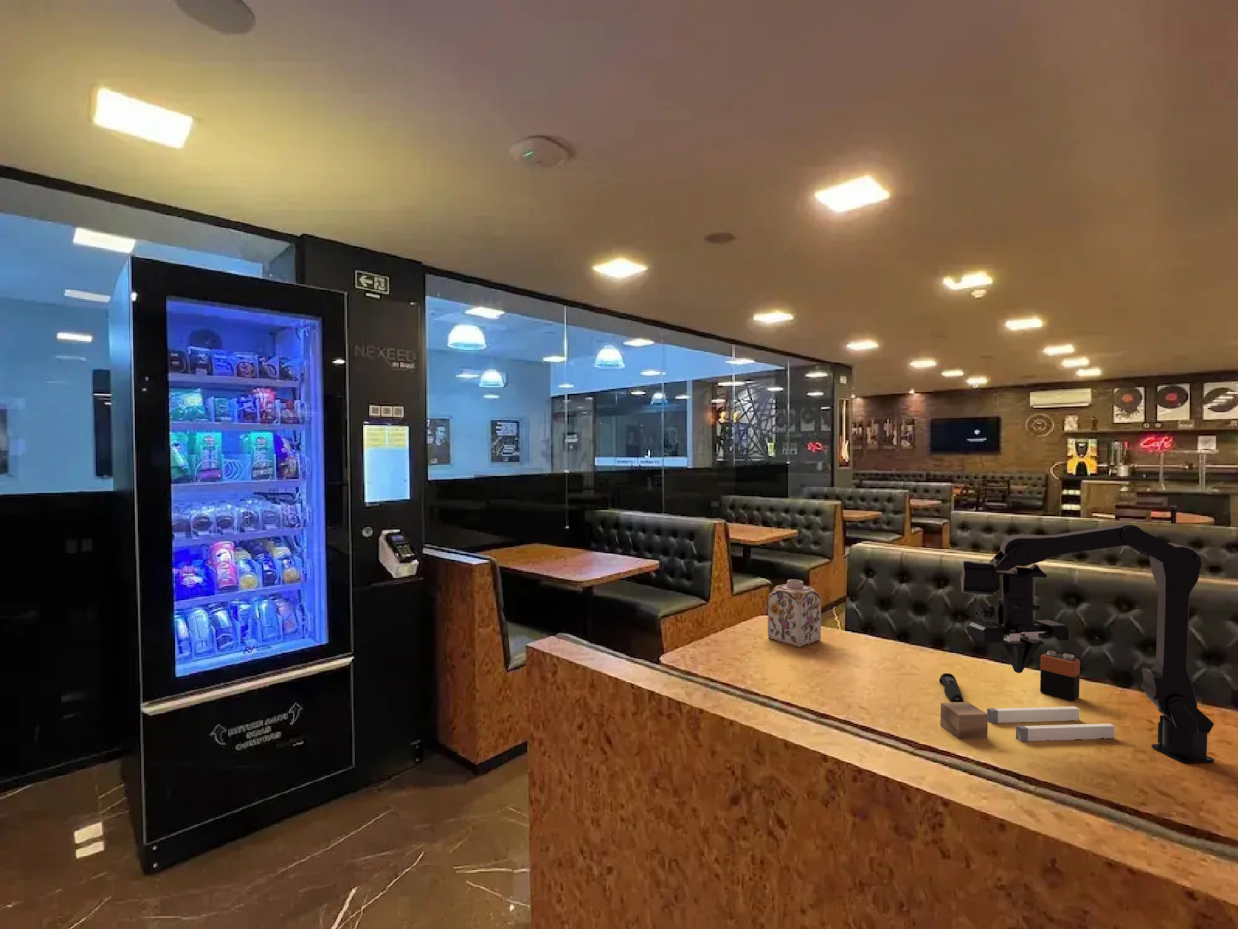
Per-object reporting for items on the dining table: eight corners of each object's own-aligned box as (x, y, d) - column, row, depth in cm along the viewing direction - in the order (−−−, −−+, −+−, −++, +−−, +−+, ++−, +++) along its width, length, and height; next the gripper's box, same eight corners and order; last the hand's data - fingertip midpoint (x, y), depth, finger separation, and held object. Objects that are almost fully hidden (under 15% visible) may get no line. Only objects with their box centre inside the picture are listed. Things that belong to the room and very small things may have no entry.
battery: (1073, 702, 142) (1074, 659, 141) (1039, 693, 147) (1040, 651, 147) (1079, 697, 144) (1080, 655, 144) (1046, 688, 150) (1047, 647, 149)
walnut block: (987, 739, 123) (987, 714, 123) (958, 740, 122) (959, 715, 122) (967, 725, 129) (968, 702, 129) (940, 726, 128) (940, 702, 128)
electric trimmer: (947, 706, 139) (947, 692, 139) (938, 682, 154) (938, 669, 154) (966, 709, 138) (966, 695, 138) (955, 684, 152) (955, 671, 152)
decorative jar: (789, 632, 195) (789, 575, 195) (821, 640, 187) (823, 581, 186) (766, 639, 188) (767, 580, 187) (799, 648, 179) (800, 586, 179)
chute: (1114, 738, 123) (1115, 725, 123) (1021, 741, 121) (1021, 728, 121) (1074, 717, 133) (1074, 705, 133) (986, 720, 131) (987, 708, 131)
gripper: (1029, 587, 136) (1029, 658, 136) (950, 589, 134) (950, 661, 134) (1072, 599, 125) (1071, 676, 125) (986, 601, 123) (986, 679, 123)
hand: (1017, 672), depth 127 cm, fingers closed
